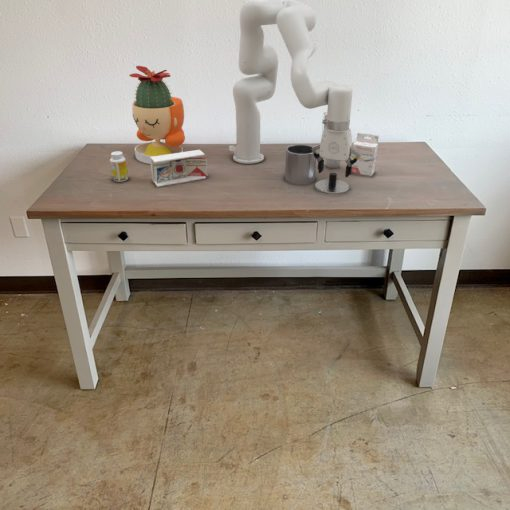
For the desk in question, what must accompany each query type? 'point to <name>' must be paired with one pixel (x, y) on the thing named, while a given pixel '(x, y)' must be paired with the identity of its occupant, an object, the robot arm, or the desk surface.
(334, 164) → the salt shaker
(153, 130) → the potted cactus
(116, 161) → the supplement bottle
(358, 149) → the ink cartridge box
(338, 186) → the canister lid
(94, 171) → the desk surface
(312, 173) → the canister
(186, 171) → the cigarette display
